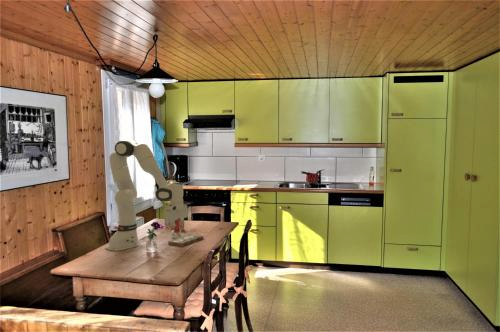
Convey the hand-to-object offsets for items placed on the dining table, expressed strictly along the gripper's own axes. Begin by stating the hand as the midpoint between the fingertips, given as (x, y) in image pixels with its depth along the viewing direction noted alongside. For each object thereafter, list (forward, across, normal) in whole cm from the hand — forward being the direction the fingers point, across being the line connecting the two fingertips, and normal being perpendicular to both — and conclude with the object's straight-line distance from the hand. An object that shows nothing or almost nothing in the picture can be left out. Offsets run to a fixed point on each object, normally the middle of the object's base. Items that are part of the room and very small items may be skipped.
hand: (176, 226), depth 265 cm
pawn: (+4, 0, 0) cm, 4 cm away
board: (+12, -9, +1) cm, 15 cm away
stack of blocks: (+13, -34, -33) cm, 49 cm away
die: (+13, -14, -13) cm, 23 cm away
